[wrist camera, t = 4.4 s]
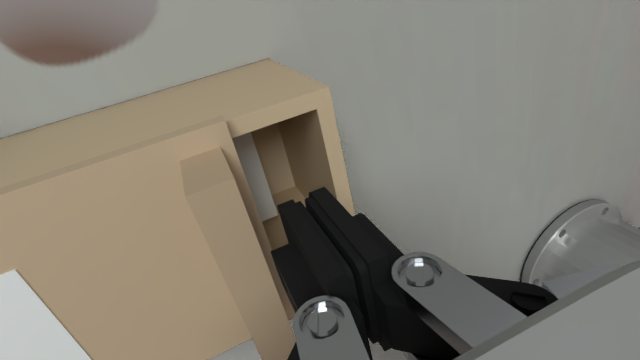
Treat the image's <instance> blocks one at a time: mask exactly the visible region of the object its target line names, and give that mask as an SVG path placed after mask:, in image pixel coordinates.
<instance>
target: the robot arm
mask: <svg viewBox="0 0 640 360" xmlns="http://www.w3.org/2000/svg"><path fill="white" fill-rule="evenodd" d="M305 205H306V207H305V206H304V205H303V203H302V202H301V201H298V202H295V201H294V200H293V199H292V200H289V201H287V202H284V203H282V204H279V205H277V208H278V211H279V214H280V218H281V221H282V224H283V227H284V230H285V233H286V236H287V240H288V243H289V244H287V245H284V246H282V247H279V248H277V249H275V250H272V251H271V255H272V258H273V261H274V263H275V266H276V269H277V272H278V274H279V277H280V279H281V282H282V284H283V287H284V289H285V292H286V294H287V296H288V298H289V300H290V303H291V305H292V307H293V309H294V311H295V317H294V320H293V329H294V334H295V338H296V342H295V345H294V347H293V349H292V351H291V353H290V355H289V357H288V359H287V360H373V359H372V355H371V350H370V345H369V341H368V338H369V339H370V341H371V342H372V343H373V344H374V343H376V342H379V343H380V345H381V346H382V348H383V349H384V351H386V350H388V349H390V348H393V349H395V350H400V351H403V352H404V355H405V357H406V358H407V360H640V227H639V228H636V227H634V226H632V225H630V224H627V223H625V222H623V221H622V216H621V213H620V210H619V209H618V208H617V207H616V206H614V205H612V204H610V203H608V202H606V201H603V200H599V199H596V200H589V201H585V202H582V203H580V204H578V205H576V206H574V207H572V208H570V209H569V210H567V211H566V212H564V213H563V214H562V215H560V216H559V217H558V218H557V219H556V220H555V221H554V222H552V224H551V225H550V226H549V227H548V228H547V229H546V230H545V231H544V232H543V234H542V235H541V236H540V238H539V239H538V240H537V242H536V243H535V245H534V247H533V248H532V250H531V252H530V254H529V256H528V258H527V260H526V262H525V266H524V269H523V272H522V280H521V282H517V281H509V280H501V279H494V278H486V277H479V276H471V275H464V274H463V273H461V272H460V271H458V270H457V269H455V268H454V267H452V266H451V265H449V264H448V263H446V262H445V261H443V260H442V259H440V258H439V257H437V256H435V255H433V254H429V253H425V252H413V253H409V254H406V255H404V254H403V253H402V252H401V251H400V250H399V249H398V248H397V247H396V246H395V245H394V244H393V243H392V242H391V241H390V240H389V239H388V238H387V237H386V236H385V235H384V234H383V233H382V232H381V231H380V230H379V229H378V228H377V227H376V226H375V225H374V224H373V223H372V222H371V221H370V220H369V219H368V218H367V217H366V216H365V215H363V214H362V213H359V214H357V215H355V216H352V215H351V214H350V213H349V212H348V211H347V210H346V209H345V208H344V207H343V206H342V205H341V204H340V202H339V201H338V200H337V199H336V198H335V197H334V196H333V195H332V194H331V193H330V192H329V191H328V190H327V189H326V188H325V187H322V188H319V189H317V190H314V191H312V192H309V197H308V198H306V199H305ZM306 208H307V209H306Z"/></svg>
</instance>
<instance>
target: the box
mask: <svg viewBox="0 0 640 360" xmlns="http://www.w3.org/2000/svg"><path fill="white" fill-rule="evenodd" d="M221 115H222V116H223V118H224V119H225V121H226V124H227V127H228V130H229V132H230V135H231V138H232V141H233V143H234V146H235V149H236V152H237V154H238V157H239V160H240V163H241V166H242V168H243V171H244V174H245V177H246V179H247V182H248V185H249V188H250V190H251V193H252V196H253V199H254V201H255V204H256V207H257V210H258V212H259V215H260V218H261V221H262V223H263V226H264V229H265V232H266V234H267V237H268V240H269V243H270V245H271V248H272V250H275V249H277V248H279V247H282V246H284V245H287V244H289V243H288V240H287V236H286V233H285V230H284V227H283V224H282V221H281V218H280V214H279V211H278V208H277V205H279V204H282V203H284V202H287V201H289V200H292V199H293V200H294V201H295V202H298V201H301V202H302V203H303V205H304V206H305V207H306V205H305V199H306V198H308V197H309V192H312V191H314V190H317V189H319V188H322V187H325V188H326V189H327V190H328V191H329V192H330V193H331V194H332V195H333V196H334V197H335V198H336V199H337V200H338V201H339V202H340V204H341V205H342V206H343V207H344V208H345V209H346V210H347V211H348V212H349V213H350V214H351V215H352V216H355V212H354V207H353V202H352V197H351V192H350V188H349V183H348V178H347V173H346V168H345V163H344V158H343V153H342V148H341V143H340V138H339V133H338V128H337V123H336V118H335V113H334V108H333V104H332V99H331V94H330V89H329V86H327V85H325V84H322V83H320V82H318V81H316V80H314V79H312V78H310V77H308V76H305V75H303V74H301V73H299V72H297V71H295V70H293V69H290V68H288V67H286V66H284V65H282V64H280V63H278V62H276V61H273V60H271V59H269V58H268V59H264V60H261V61H258V62H254V63H251V64H248V65H244V66H241V67H238V68H234V69H231V70H228V71H224V72H221V73H218V74H214V75H211V76H208V77H204V78H201V79H198V80H194V81H191V82H188V83H184V84H181V85H178V86H174V87H171V88H168V89H164V90H161V91H158V92H154V93H151V94H148V95H144V96H141V97H138V98H135V99H131V100H128V101H125V102H121V103H118V104H115V105H111V106H108V107H105V108H101V109H98V110H95V111H91V112H88V113H85V114H81V115H78V116H75V117H71V118H68V119H65V120H61V121H58V122H55V123H51V124H48V125H45V126H41V127H38V128H35V129H31V130H28V131H25V132H21V133H18V134H15V135H11V136H8V137H5V138H1V139H0V188H2V187H5V186H8V185H11V184H14V183H17V182H20V181H23V180H26V179H29V178H32V177H35V176H38V175H41V174H44V173H47V172H50V171H54V170H57V169H60V168H63V167H66V166H69V165H72V164H75V163H78V162H81V161H84V160H87V159H90V158H93V157H96V156H99V155H102V154H105V153H108V152H111V151H114V150H117V149H121V148H124V147H127V146H130V145H133V144H136V143H139V142H142V141H145V140H148V139H151V138H154V137H157V136H160V135H163V134H166V133H169V132H172V131H175V130H178V129H181V128H184V127H187V126H191V125H194V124H197V123H200V122H203V121H206V120H209V119H212V118H215V117H218V116H221ZM306 209H307V208H306Z"/></svg>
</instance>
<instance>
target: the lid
mask: <svg viewBox="0 0 640 360" xmlns="http://www.w3.org/2000/svg"><path fill="white" fill-rule="evenodd" d="M271 251H272V248H271V245H270V243H269V240H268V237H267V234H266V232H265V229H264V226H263V223H262V221H261V218H260V215H259V212H258V210H257V207H256V204H255V201H254V199H253V196H252V193H251V190H250V188H249V185H248V182H247V179H246V177H245V174H244V171H243V168H242V166H241V163H240V160H239V157H238V154H237V152H236V149H235V146H234V143H233V141H232V138H231V135H230V132H229V130H228V127H227V124H226V121H225V119H224V118H223V116H222V115H221V116H218V117H215V118H212V119H209V120H206V121H203V122H200V123H197V124H194V125H191V126H187V127H184V128H181V129H178V130H175V131H172V132H169V133H166V134H163V135H160V136H157V137H154V138H151V139H148V140H145V141H142V142H139V143H136V144H133V145H130V146H127V147H124V148H121V149H117V150H114V151H111V152H108V153H105V154H102V155H99V156H96V157H93V158H90V159H87V160H84V161H81V162H78V163H75V164H72V165H69V166H66V167H63V168H60V169H57V170H54V171H50V172H47V173H44V174H41V175H38V176H35V177H32V178H29V179H26V180H23V181H20V182H17V183H14V184H11V185H8V186H5V187H2V188H0V360H209V359H211V358H213V357H215V356H217V355H219V354H221V353H223V352H225V351H227V350H229V349H231V348H233V347H235V346H237V345H240V344H242V343H244V342H246V341H248V340H250V339H253V341H254V343H255V345H256V348H257V350H258V352H259V354H260V356H261V358H262V360H287V359H288V357H289V355H290V353H291V351H292V349H293V347H294V345H295V342H296V339H295V336H294V334H293V331H292V328H291V326H290V323H289V320H291V319H293V318H294V317H295V312H294V309H293V307H292V305H291V303H290V300H289V298H288V296H287V294H286V292H285V289H284V287H283V284H282V282H281V279H280V277H279V274H278V272H277V269H276V266H275V263H274V261H273V258H272V255H271Z"/></svg>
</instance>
